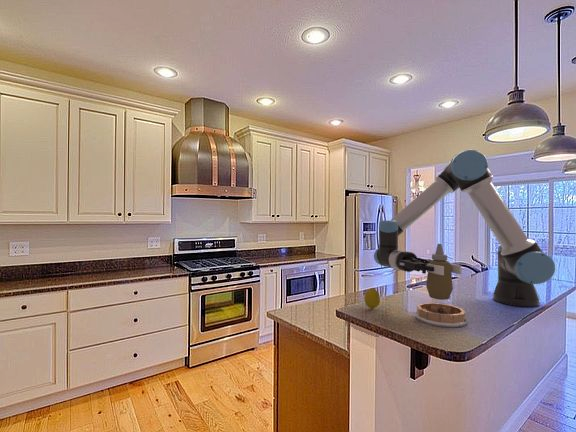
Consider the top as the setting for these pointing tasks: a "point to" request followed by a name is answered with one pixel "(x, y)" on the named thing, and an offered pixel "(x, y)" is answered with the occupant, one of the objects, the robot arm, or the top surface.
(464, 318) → the flange seat
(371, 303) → the lemon
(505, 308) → the top surface
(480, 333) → the top surface
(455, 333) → the top surface
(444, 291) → the squeeze bottle
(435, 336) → the top surface
